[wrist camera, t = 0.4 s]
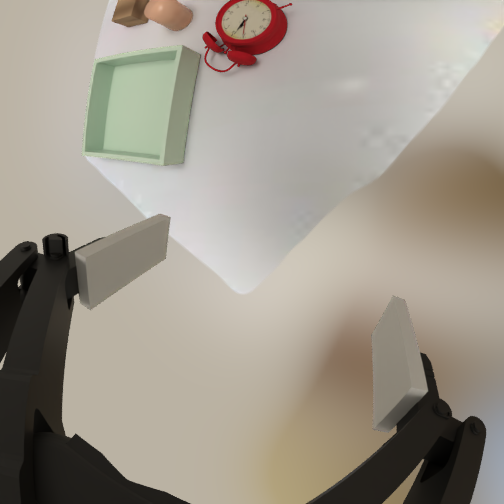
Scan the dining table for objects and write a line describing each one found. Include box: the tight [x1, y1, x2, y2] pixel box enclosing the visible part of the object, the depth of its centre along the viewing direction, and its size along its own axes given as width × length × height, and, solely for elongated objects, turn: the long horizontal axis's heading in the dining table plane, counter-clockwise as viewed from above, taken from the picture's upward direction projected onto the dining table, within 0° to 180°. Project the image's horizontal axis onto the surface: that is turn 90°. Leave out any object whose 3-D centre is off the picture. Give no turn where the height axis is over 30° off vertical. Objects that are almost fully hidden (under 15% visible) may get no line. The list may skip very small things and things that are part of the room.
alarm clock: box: [203, 0, 292, 72], centre depth 31 cm, size 10×6×15 cm
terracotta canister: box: [144, 0, 193, 31], centre depth 31 cm, size 5×5×7 cm
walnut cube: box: [112, 0, 150, 27], centre depth 33 cm, size 5×5×5 cm
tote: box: [82, 45, 201, 166], centre depth 39 cm, size 19×20×6 cm
